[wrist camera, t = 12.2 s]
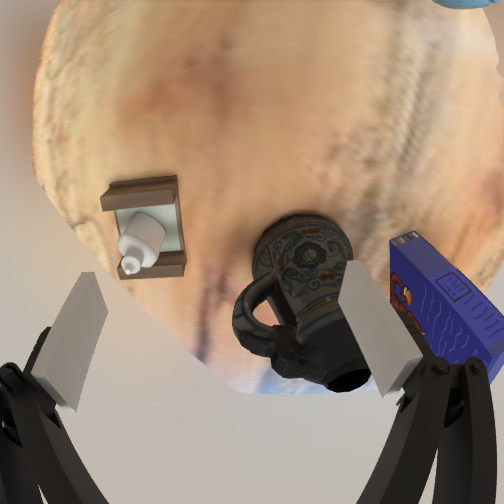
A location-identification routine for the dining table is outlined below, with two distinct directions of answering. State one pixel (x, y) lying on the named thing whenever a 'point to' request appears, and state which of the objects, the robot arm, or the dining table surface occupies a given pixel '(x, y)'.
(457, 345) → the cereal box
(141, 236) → the eye dropper bottle
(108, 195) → the u rest
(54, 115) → the dining table surface
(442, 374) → the robot arm
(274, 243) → the beer stein
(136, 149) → the dining table surface
